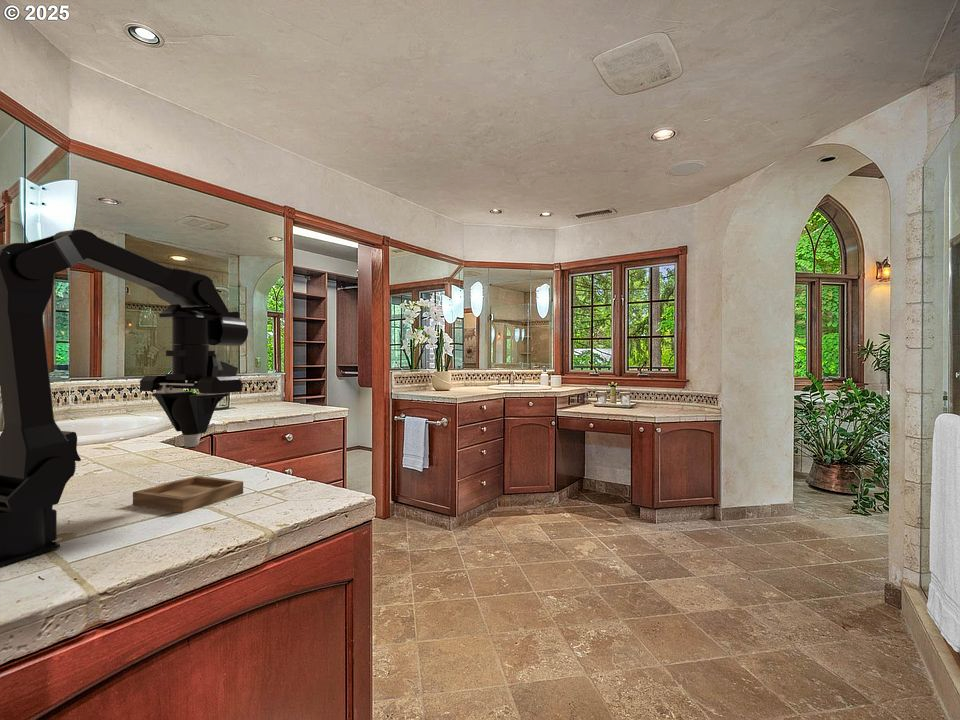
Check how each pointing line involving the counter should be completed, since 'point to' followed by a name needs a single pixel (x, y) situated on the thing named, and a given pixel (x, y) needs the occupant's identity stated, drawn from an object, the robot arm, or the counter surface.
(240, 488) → the walnut tray
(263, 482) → the counter surface
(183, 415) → the light bulb
